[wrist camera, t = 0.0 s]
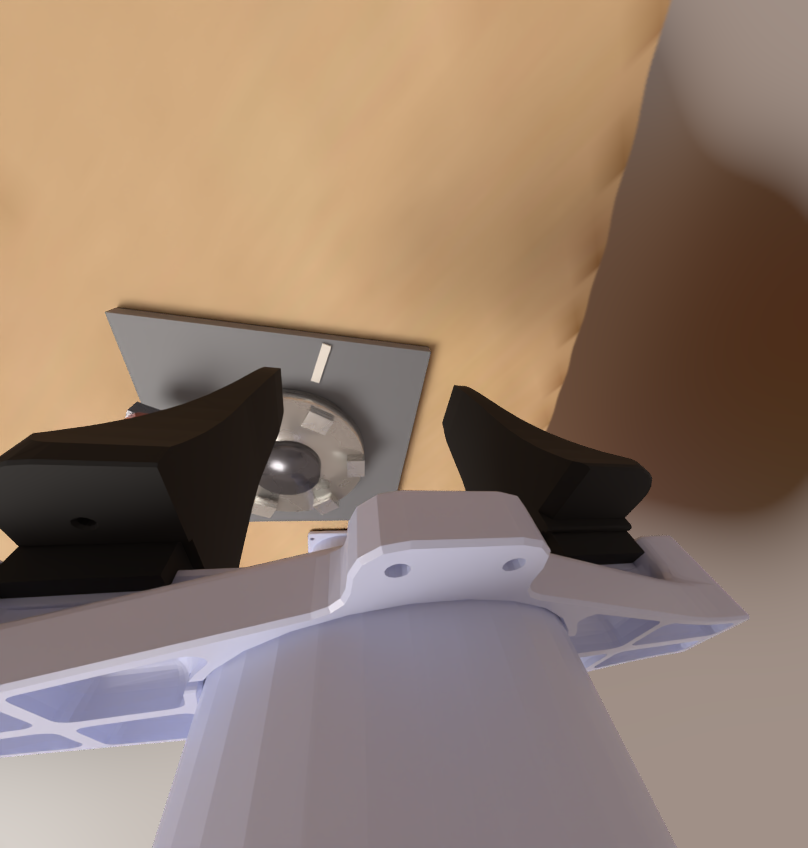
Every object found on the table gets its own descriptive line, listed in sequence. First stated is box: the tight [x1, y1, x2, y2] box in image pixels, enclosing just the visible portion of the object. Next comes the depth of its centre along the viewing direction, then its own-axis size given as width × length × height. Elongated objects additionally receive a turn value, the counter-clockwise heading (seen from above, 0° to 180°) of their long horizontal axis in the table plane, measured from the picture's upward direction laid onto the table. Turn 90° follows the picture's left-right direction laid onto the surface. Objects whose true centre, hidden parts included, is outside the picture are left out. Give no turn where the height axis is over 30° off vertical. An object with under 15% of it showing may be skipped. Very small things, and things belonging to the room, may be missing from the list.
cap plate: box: [105, 308, 431, 522], centre depth 25 cm, size 20×20×1 cm
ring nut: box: [125, 389, 365, 518], centre depth 21 cm, size 16×12×6 cm
